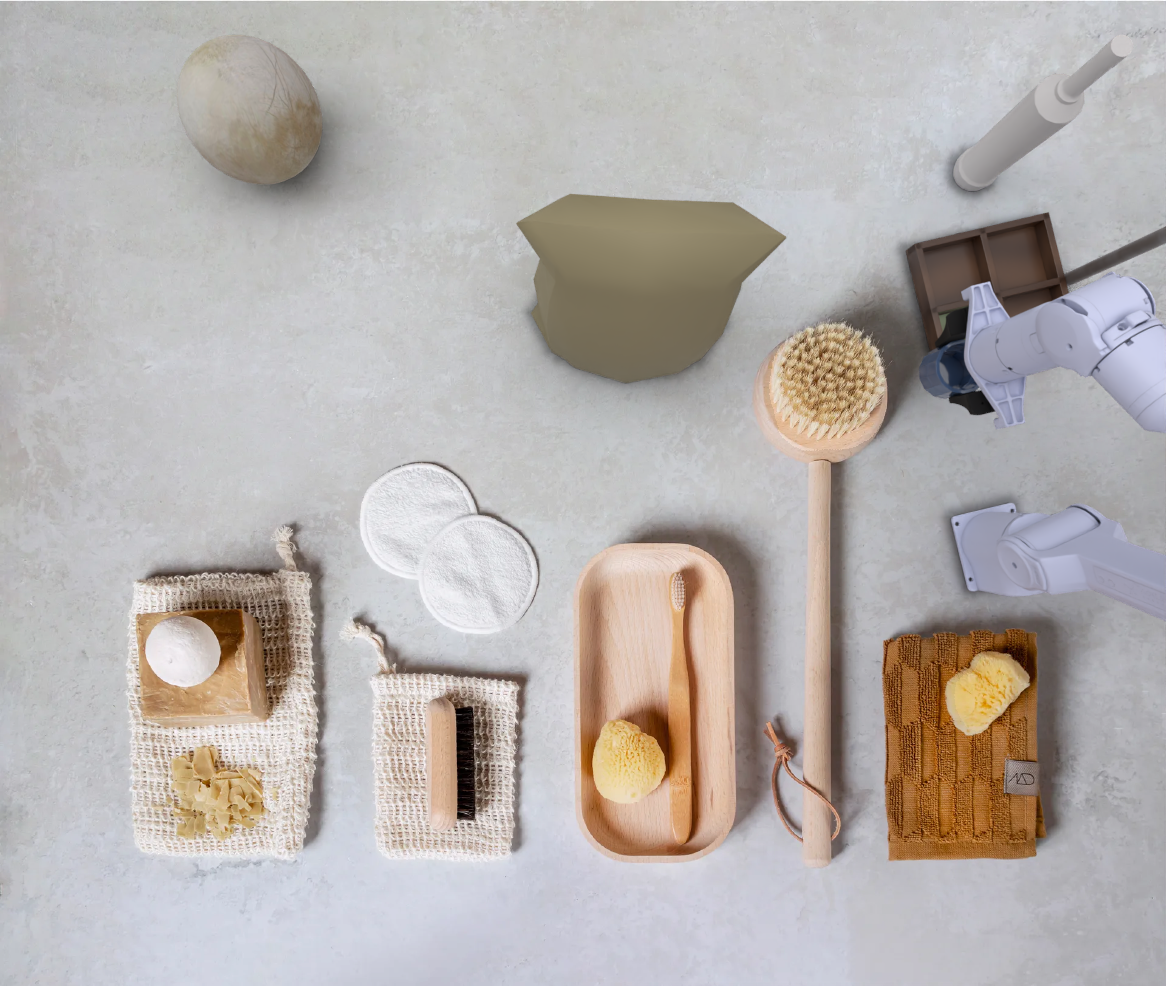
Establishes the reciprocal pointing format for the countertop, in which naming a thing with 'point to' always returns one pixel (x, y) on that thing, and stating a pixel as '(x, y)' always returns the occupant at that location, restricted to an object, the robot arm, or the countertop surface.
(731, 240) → the container
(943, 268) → the tray
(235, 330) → the countertop surface
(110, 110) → the countertop surface
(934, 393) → the cup
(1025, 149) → the bottle
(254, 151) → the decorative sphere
